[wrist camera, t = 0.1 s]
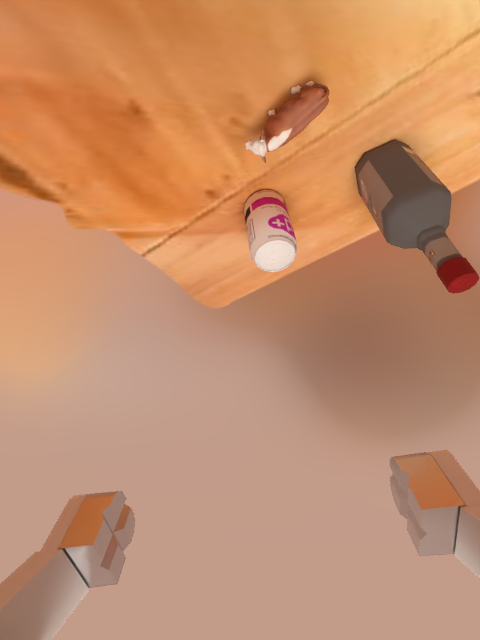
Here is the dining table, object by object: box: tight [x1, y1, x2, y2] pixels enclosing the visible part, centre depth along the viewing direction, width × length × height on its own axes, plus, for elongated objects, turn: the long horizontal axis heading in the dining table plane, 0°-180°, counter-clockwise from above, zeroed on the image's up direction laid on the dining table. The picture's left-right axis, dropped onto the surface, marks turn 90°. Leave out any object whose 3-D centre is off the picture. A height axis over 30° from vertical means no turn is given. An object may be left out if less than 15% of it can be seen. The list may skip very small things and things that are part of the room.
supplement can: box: [244, 190, 297, 272], centre depth 58 cm, size 8×8×15 cm
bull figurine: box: [246, 81, 329, 163], centre depth 47 cm, size 4×13×8 cm, turn 124°
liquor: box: [355, 140, 479, 293], centre depth 49 cm, size 9×9×30 cm
